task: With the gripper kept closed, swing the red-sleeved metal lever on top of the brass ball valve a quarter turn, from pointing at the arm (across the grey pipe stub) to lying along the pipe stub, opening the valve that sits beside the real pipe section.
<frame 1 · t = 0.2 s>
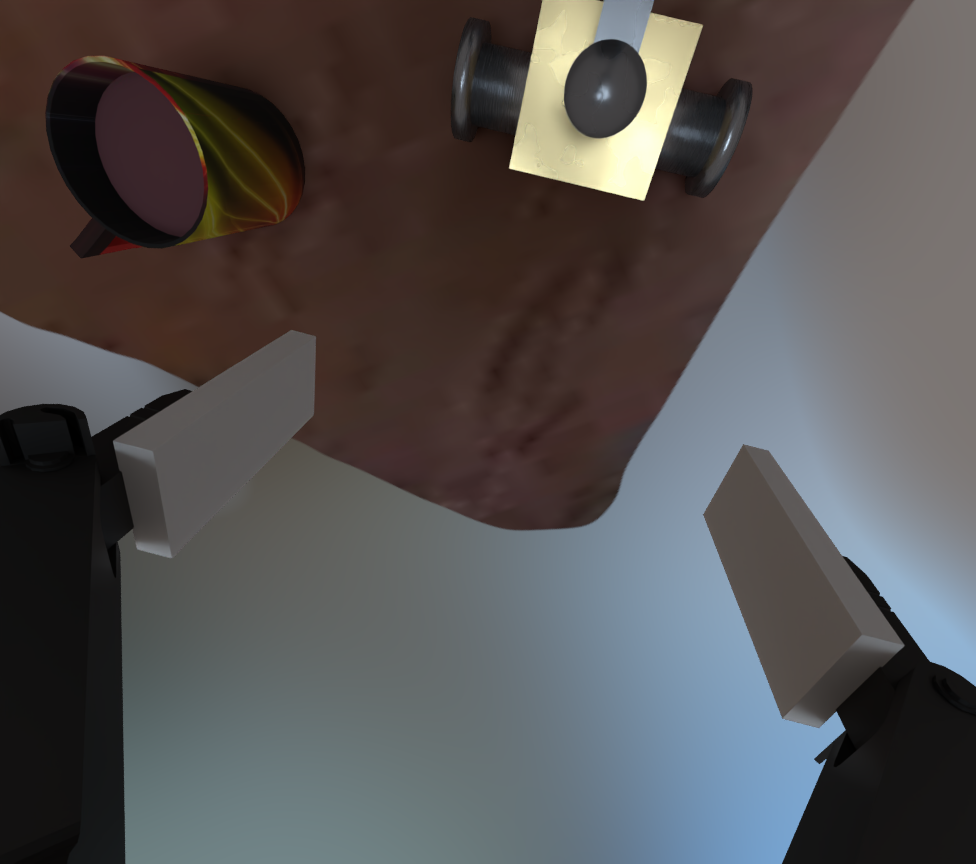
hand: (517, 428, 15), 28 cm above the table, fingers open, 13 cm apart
valve: (590, 116, 34), on the table
mug: (241, 186, 39), on the table
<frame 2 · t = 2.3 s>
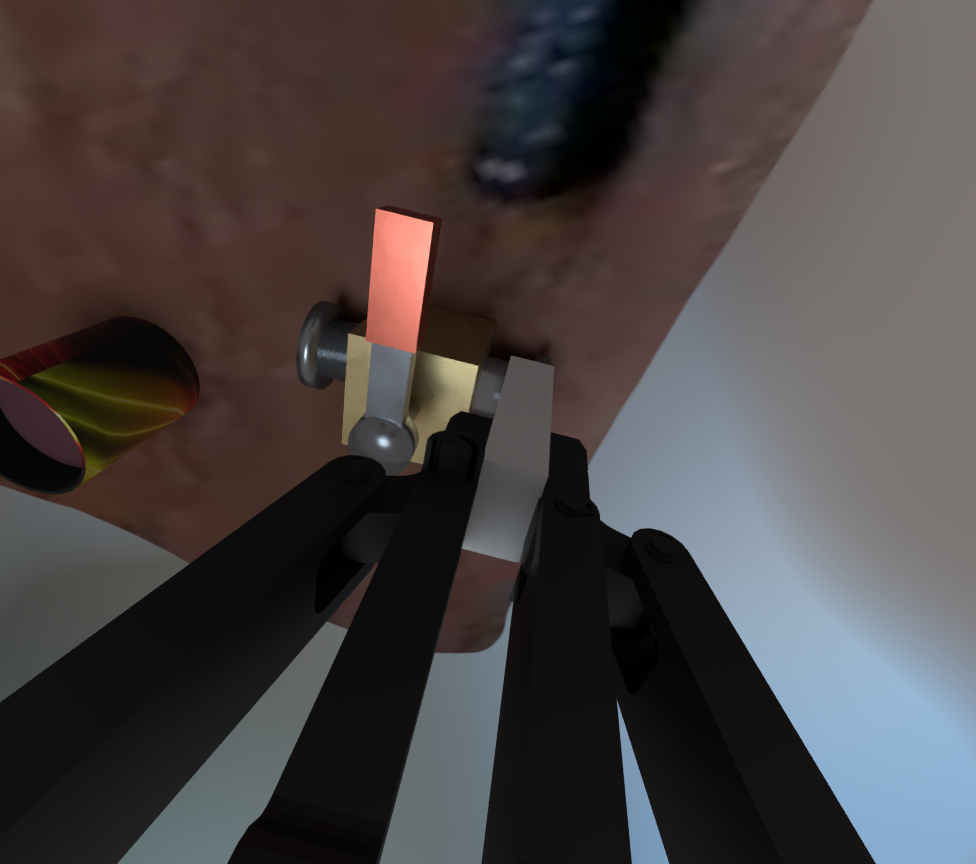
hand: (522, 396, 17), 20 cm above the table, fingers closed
valve: (437, 356, 39), on the table
lever: (402, 347, 26), point 12 cm above the table, hinge at 0.0°
mug: (146, 386, 44), on the table
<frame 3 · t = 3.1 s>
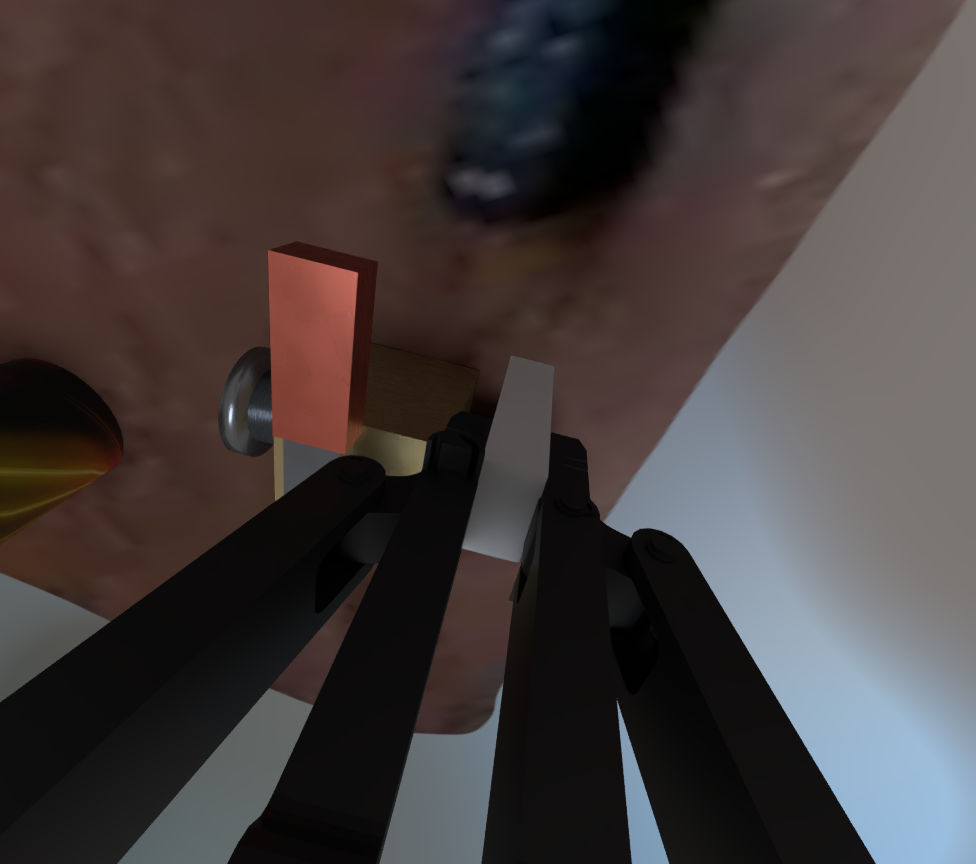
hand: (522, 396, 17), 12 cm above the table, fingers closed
valve: (406, 411, 31), on the table
lever: (336, 433, 19), point 12 cm above the table, hinge at 0.0°
mug: (61, 438, 37), on the table
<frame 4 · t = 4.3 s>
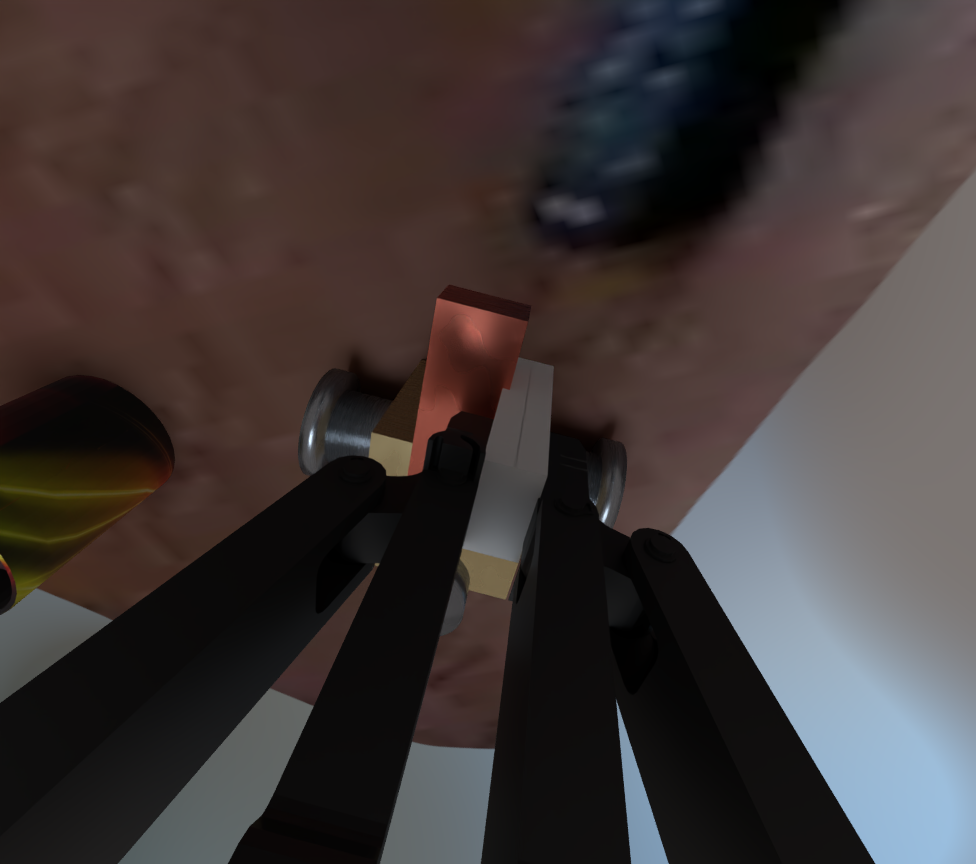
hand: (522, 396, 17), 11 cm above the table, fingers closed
valve: (473, 431, 31), on the table
lever: (452, 468, 18), point 12 cm above the table, hinge at 0.0°, touching gripper
mug: (109, 455, 36), on the table
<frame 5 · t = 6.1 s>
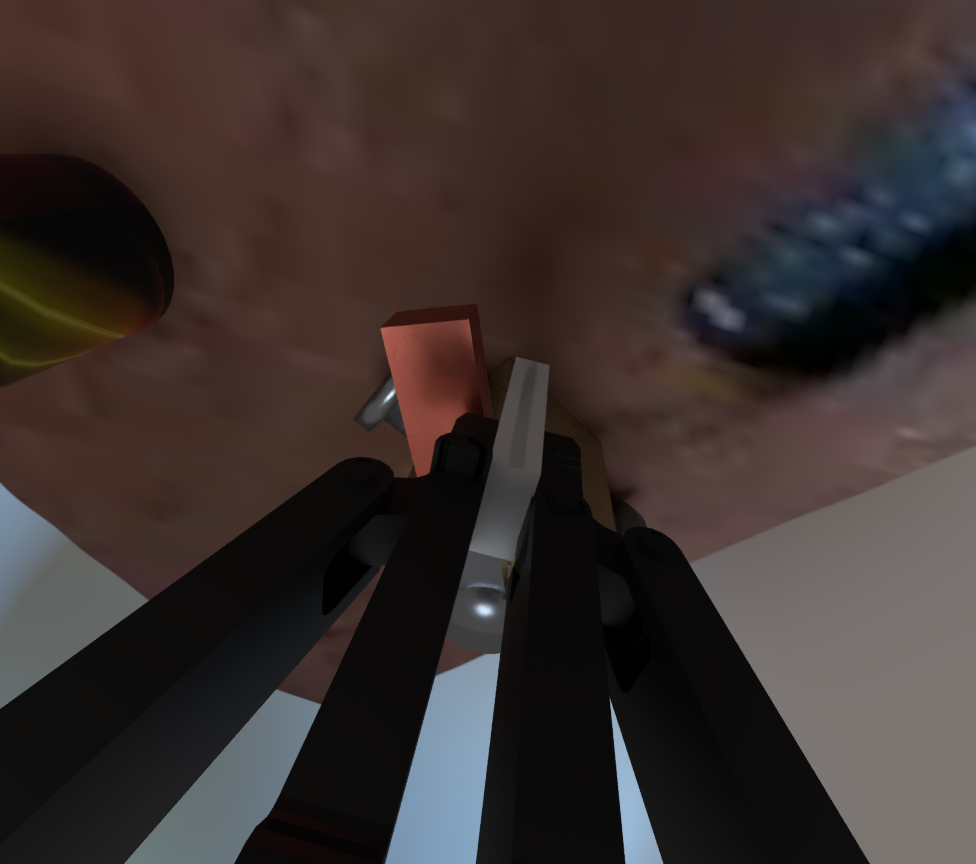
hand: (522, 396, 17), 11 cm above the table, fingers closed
valve: (510, 441, 31), on the table
lever: (473, 481, 18), point 12 cm above the table, hinge at 49.9°, touching gripper
mug: (75, 267, 29), on the table
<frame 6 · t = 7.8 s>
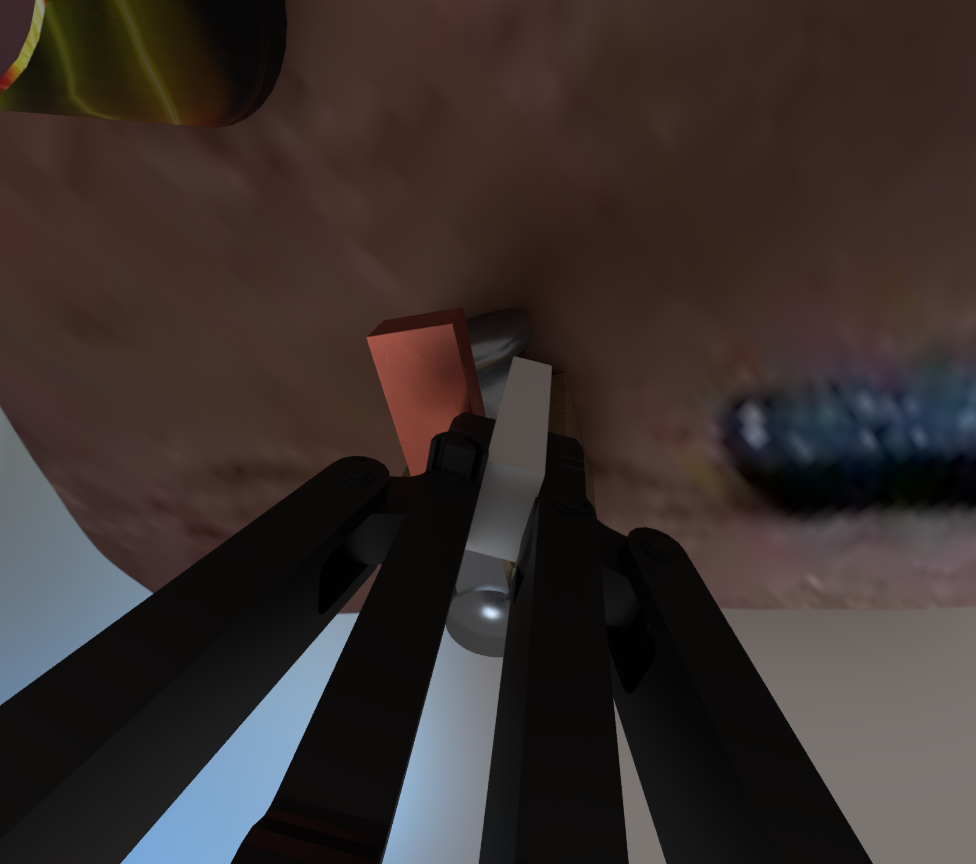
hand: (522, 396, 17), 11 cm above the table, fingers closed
valve: (517, 443, 31), on the table
lever: (473, 485, 18), point 12 cm above the table, hinge at 83.3°, touching gripper
mug: (144, 4, 22), on the table
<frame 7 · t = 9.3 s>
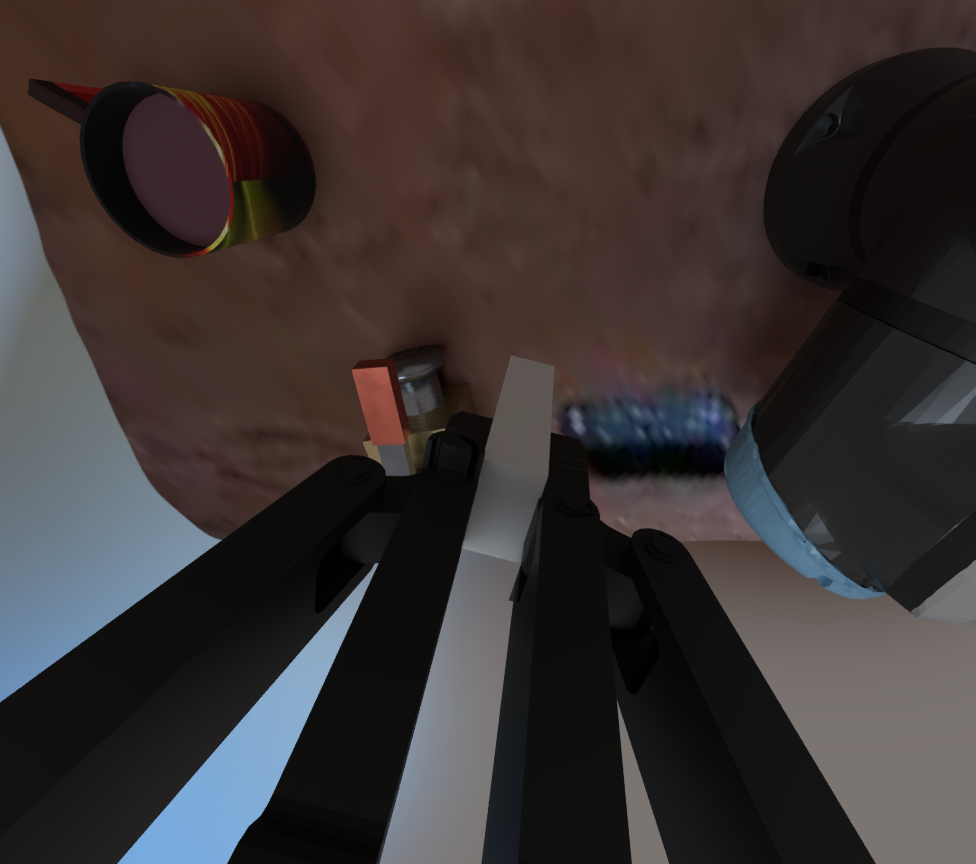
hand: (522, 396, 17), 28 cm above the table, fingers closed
valve: (440, 424, 50), on the table
lever: (400, 439, 38), point 12 cm above the table, hinge at 83.3°
mug: (236, 169, 40), on the table
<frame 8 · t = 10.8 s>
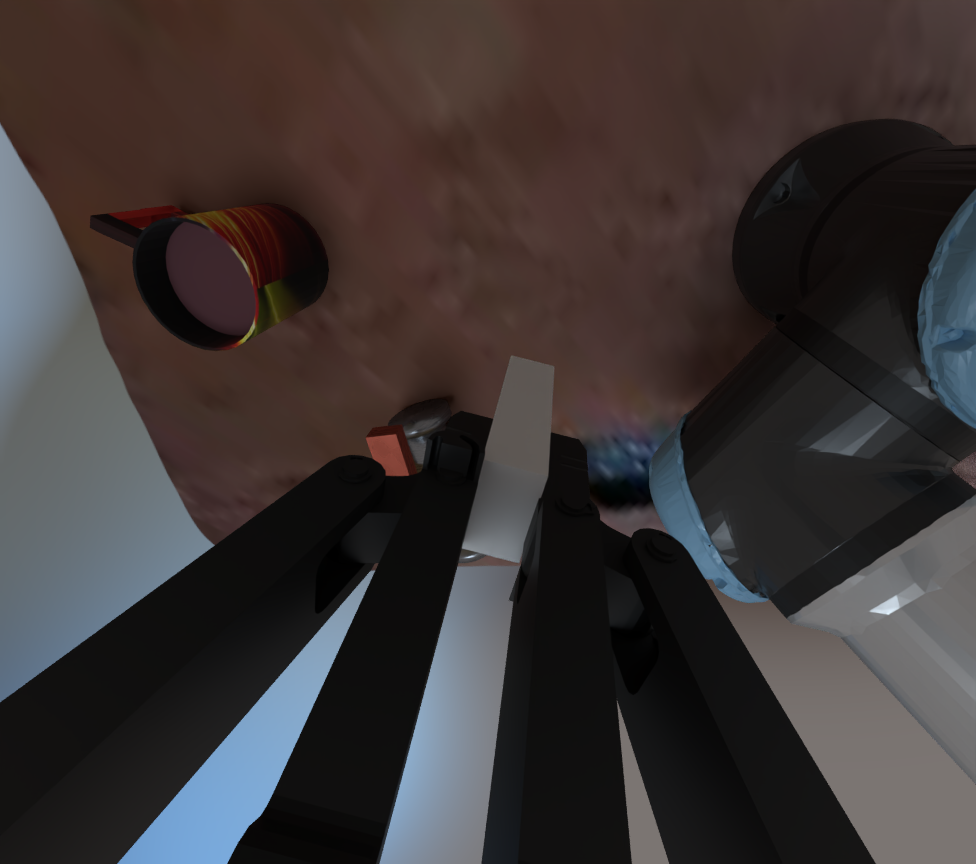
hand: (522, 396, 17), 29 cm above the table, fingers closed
valve: (453, 466, 55), on the table
lever: (413, 491, 42), point 12 cm above the table, hinge at 83.3°
mug: (260, 258, 46), on the table
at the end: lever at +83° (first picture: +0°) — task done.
